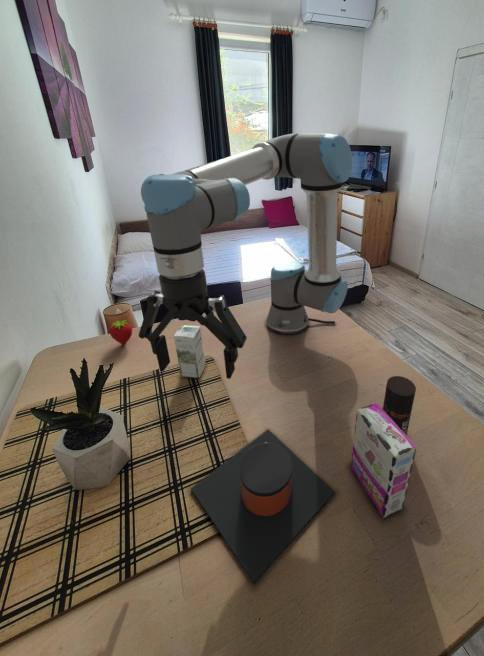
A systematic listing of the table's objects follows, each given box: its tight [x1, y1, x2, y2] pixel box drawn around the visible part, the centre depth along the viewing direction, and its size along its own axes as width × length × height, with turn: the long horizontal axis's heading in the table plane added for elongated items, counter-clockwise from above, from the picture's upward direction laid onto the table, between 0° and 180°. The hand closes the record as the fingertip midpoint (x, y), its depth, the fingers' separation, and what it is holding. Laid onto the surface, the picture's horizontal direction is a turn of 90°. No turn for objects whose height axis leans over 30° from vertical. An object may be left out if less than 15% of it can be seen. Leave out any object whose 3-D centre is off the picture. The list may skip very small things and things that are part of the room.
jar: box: [239, 443, 292, 516], centre depth 62 cm, size 6×10×10 cm
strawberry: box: [108, 319, 133, 346], centre depth 106 cm, size 6×8×10 cm
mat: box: [190, 429, 336, 585], centre depth 64 cm, size 20×20×1 cm
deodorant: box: [382, 375, 417, 437], centre depth 73 cm, size 6×6×15 cm
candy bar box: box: [350, 402, 417, 519], centre depth 61 cm, size 11×5×16 cm, turn 23°
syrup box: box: [173, 324, 206, 379], centre depth 93 cm, size 6×6×14 cm
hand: (197, 370), depth 63 cm, fingers open, 13 cm apart
